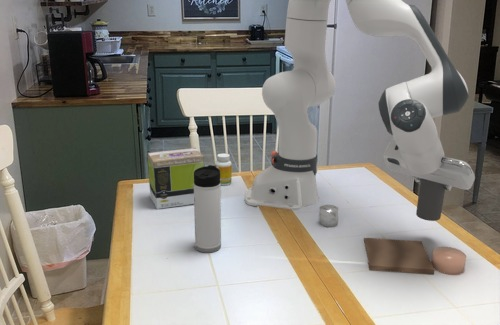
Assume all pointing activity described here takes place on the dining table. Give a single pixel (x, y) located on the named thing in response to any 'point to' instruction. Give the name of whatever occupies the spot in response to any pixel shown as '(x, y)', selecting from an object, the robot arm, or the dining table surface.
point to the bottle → (430, 200)
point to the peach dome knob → (448, 260)
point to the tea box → (173, 176)
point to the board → (397, 256)
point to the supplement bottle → (224, 168)
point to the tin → (328, 216)
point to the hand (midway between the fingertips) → (433, 183)
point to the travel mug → (207, 209)
